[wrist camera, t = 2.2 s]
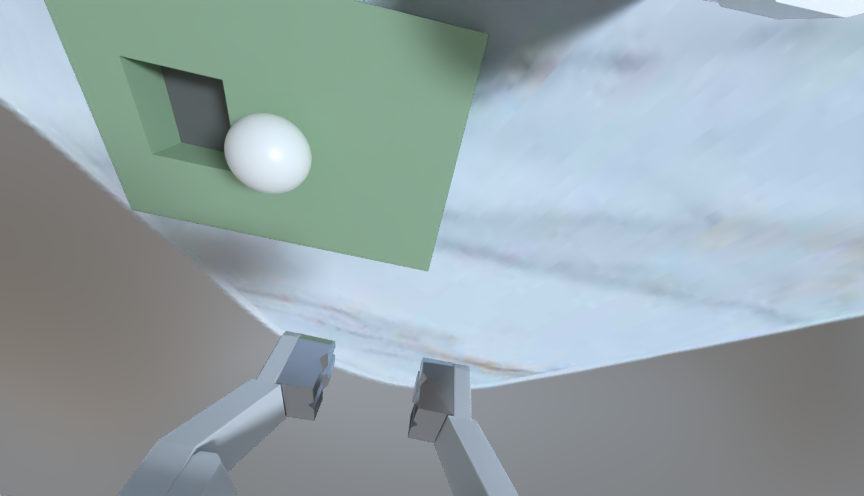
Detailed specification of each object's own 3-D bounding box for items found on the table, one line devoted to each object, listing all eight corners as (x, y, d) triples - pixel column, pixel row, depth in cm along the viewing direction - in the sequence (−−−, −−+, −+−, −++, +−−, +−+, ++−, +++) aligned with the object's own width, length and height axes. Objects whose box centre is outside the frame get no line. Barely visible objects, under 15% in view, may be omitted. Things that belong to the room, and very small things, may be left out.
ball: (247, 97, 21) (194, 114, 17) (322, 115, 21) (288, 136, 17) (257, 168, 23) (214, 197, 19) (322, 182, 24) (294, 214, 20)
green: (75, -70, 19) (7, -88, 16) (485, 33, 20) (489, 34, 18) (163, 192, 29) (132, 209, 27) (431, 248, 31) (428, 271, 28)
